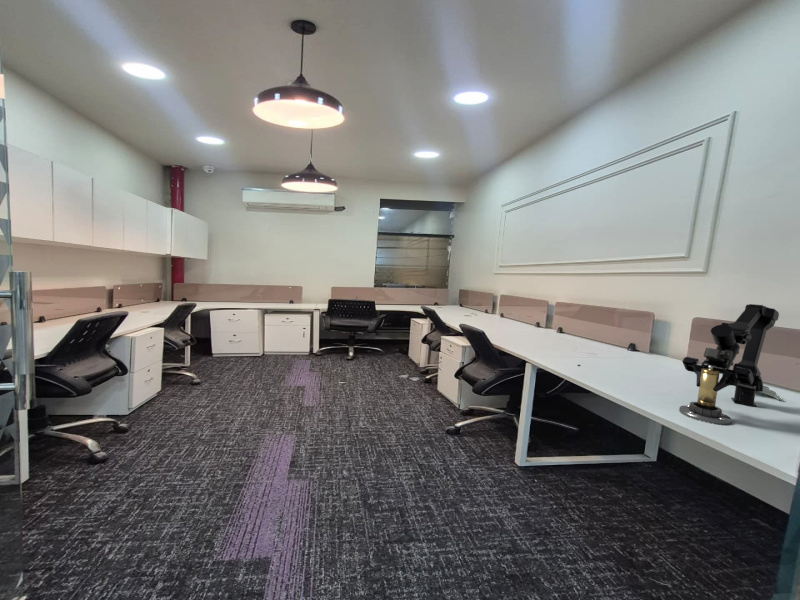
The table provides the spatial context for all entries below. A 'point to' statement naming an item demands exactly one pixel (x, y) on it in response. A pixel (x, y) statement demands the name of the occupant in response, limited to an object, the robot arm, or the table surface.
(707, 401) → the brass pepper mill
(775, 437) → the table surface
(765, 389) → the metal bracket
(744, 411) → the table surface
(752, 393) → the robot arm
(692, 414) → the grey flange
